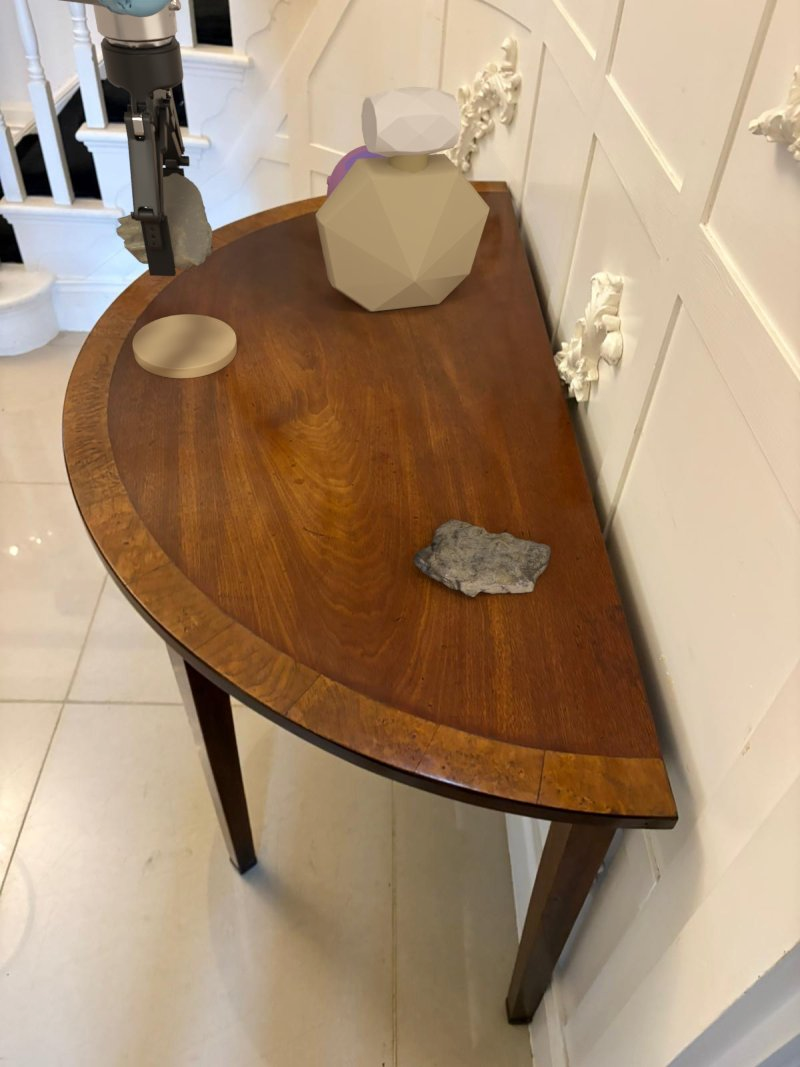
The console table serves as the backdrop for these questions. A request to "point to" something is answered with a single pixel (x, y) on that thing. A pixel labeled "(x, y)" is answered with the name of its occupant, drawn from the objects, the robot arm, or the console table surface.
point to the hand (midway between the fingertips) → (171, 248)
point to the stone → (482, 560)
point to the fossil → (175, 225)
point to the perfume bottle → (403, 206)
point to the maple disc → (185, 346)
